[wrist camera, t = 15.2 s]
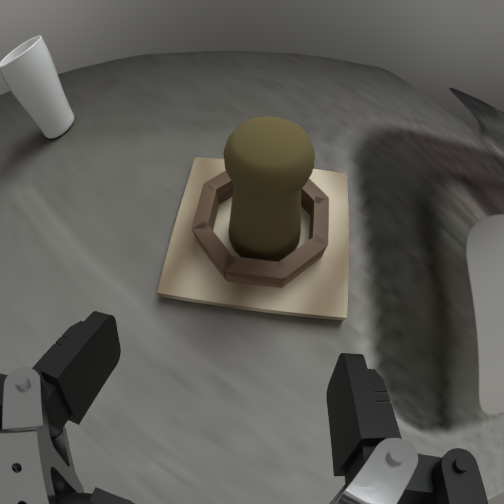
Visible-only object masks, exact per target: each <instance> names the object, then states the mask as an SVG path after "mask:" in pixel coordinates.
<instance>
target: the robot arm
mask: <svg viewBox="0 0 504 504" xmlns="http://www.w3.org/2000/svg"><path fill="white" fill-rule="evenodd" d="M120 352H121V349H120V343H119V337H118V332H117V326H116V320H115V318H114V316H112V315H108V314H104V313H100V312H97V311H95V312H93V313H92V314H91V315H90V316H89V317H88V318H87V319H86V320H85V321H84V322H83V321H80V322H78V323H77V324H75V325H73V326H71V327H70V328H69V329H68V330H67V331H66V332H65V333H64V334H63V335H62V337H60V338H59V339H58V340H57V341H56V344H54V345H53V346H52V347H51V348H50V349H49V350H48V351H47V352H46V353H45V354H44V355H43V357H42V358H41V359H40V360H39V361H38V362H37V363H36V364H35V366H34V367H33V368H32V369H31V368H27V367H22V368H18V369H15V370H13V371H12V372H11V373H9V374H8V375H4V374H0V504H134V503H133V502H131V501H129V500H127V499H124V498H121V497H118V496H116V495H113V494H111V493H108V492H106V491H103V490H101V489H99V488H96V487H95V490H94V492H93V494H90V493H85V492H84V489H83V487H82V485H81V483H80V481H79V479H78V477H77V475H76V472H75V469H74V465H73V461H72V456H71V452H70V447H69V442H68V437H67V431H66V428H65V426H64V425H65V424H66V422H67V421H68V420H69V421H72V422H74V423H76V424H78V425H79V424H80V422H81V420H82V419H83V417H84V415H85V414H86V412H87V411H88V409H89V407H90V406H91V404H92V403H93V401H94V399H95V398H96V396H97V395H98V393H99V391H100V390H101V388H102V387H103V385H104V384H105V382H106V380H107V379H108V377H109V376H110V374H111V373H112V371H113V370H114V368H115V366H116V365H117V363H118V361H119V358H120ZM327 407H328V416H329V426H330V436H331V446H332V457H333V470H334V476H345V483H346V484H345V485H344V486H343V487H342V489H341V490H340V491H339V492H338V494H337V495H336V496H335V497H334V498H333V500H332V501H331V502H330V503H329V504H488V501H487V497H486V493H485V489H484V486H483V482H482V478H481V475H480V472H479V468H478V465H477V462H476V460H475V458H474V456H473V455H472V454H471V453H470V452H468V451H467V450H464V449H460V448H456V449H452V450H450V451H448V452H447V453H446V454H445V455H444V456H443V457H442V458H441V457H434V456H427V455H422V454H418V453H417V451H416V449H415V448H414V447H413V446H412V445H411V444H410V443H409V442H407V441H406V440H403V439H402V438H401V435H400V432H399V428H398V425H397V421H396V418H395V415H394V411H393V408H392V405H391V403H390V398H389V395H388V393H387V389H386V386H385V383H384V380H383V379H382V377H381V376H380V375H379V374H378V373H377V371H376V370H375V369H368V368H367V365H366V362H365V359H364V356H363V355H362V354H349V353H341V354H340V356H339V358H338V361H337V363H336V366H335V369H334V371H333V374H332V377H331V379H330V382H329V385H328V389H327Z"/></svg>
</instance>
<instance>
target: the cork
mask: <svg viewBox="0 0 504 504" xmlns="http://www.w3.org/2000/svg"><path fill="white" fill-rule="evenodd" d="M314 159H315V155H314V149H313V146H312V143H311V140H310V139H309V137H308V136H307V134H306V133H305V132H304V131H303V129H302V128H301V127H299V126H298V125H296V124H295V123H293V122H291V121H289V120H286V119H283V118H278V117H271V116H268V117H257V118H254V119H250V120H247V121H246V122H244V123H242V124H240V125H239V126H238V127H237V128H236V129H235V130H234V131H233V133H232V134H231V135H230V136H229V138H228V140H227V143H226V146H225V149H224V164H225V170H226V172H227V174H228V176H229V177H230V179H231V181H232V183H233V185H234V187H233V196H232V204H231V213H230V222H229V241H230V243H231V245H232V247H233V249H234V251H235V252H236V253H237V254H238V255H239V256H240V257H243V258H251V259H259V260H267V261H275V262H280V261H281V260H282V259H284V258H285V257H286V256H288V255H289V254H291V253H292V252H293V251H295V250H296V248H297V246H298V244H299V241H300V235H301V189H302V188H303V187H304V185H305V184H306V183H307V181H308V179H309V177H310V176H311V174H312V171H313V167H314Z"/></svg>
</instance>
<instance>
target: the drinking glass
mask: <svg viewBox="0 0 504 504" xmlns="http://www.w3.org/2000/svg"><path fill="white" fill-rule="evenodd" d="M0 73H1V74H2V76H3V79H4V80H5V82H6V84H7V86H8V87H9V89H10V90H11V92H12V93H13V95H14V96H15V97H16V99H17V100H18V101H19V102H20V104H21V105H22V106H23V108H24V109H25V110H26V111H27V113H28V114H29V115H30V117H31V118H32V119H33V120H34V122H35V123H36V124H37V125H38V127H39V128H40V129H41V131H42V132H43V134H44V135H45V137H47V138H49V139H52V138H56V137H58V136H60V135H62V134H63V133H65V132H66V131H67V130H68V129H69V128H70V127H71V125H72V124H73V121H74V114H73V112H72V110H71V108H70V106H69V104H68V101H67V99H66V96H65V94H64V91H63V88H62V86H61V83H60V80H59V77H58V75H57V72H56V69H55V66H54V63H53V61H52V58H51V55H50V53H49V51H48V48H47V46H46V44H45V42H44V40H43V38H42V37H41V36H36V37H33V38H31V39H29V40H27V41H26V42H24V43H22V44H21V45H20V46H18V47H17V48H15V49H14V50H13V51H11V53H9V54H8V55H7V56H6V57H5V58H4V59H3V60H2V61H1V62H0Z"/></svg>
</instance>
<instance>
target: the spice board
mask: <svg viewBox="0 0 504 504" xmlns="http://www.w3.org/2000/svg"><path fill="white" fill-rule="evenodd" d="M233 187H234V185H233V183H232V181H231V179H230V177H229V176H228V174H227V172H226V170H225V164H224V159H216V158H200V157H196V158H195V161H194V164H193V167H192V170H191V173H190V176H189V179H188V182H187V186H186V189H185V192H184V195H183V199H182V202H181V205H180V209H179V212H178V215H177V219H176V222H175V226H174V229H173V233H172V237H171V240H170V244H169V248H168V251H167V255H166V259H165V263H164V267H163V271H162V275H161V279H160V283H159V287H158V291H157V293H158V294H159V295H160V296H161V297H166V298H171V299H177V300H183V301H189V302H195V303H202V304H208V305H214V306H221V307H228V308H235V309H242V310H250V311H257V312H265V313H273V314H281V315H290V316H299V317H308V318H318V319H328V320H339V321H343V320H344V319H346V318H347V304H348V274H349V218H348V189H347V174H343V173H337V172H331V171H324V170H318V169H313V171H312V174H311V176H310V177H309V179H308V181H307V183H306V184H305V185H304V187H303V188H302V189H301V235H300V241H299V244H298V246H297V248H296V250H295V251H293V252H292V253H291V254H289V255H288V256H286V257H285V258H284V259H282V260H281V261H280V262H275V261H267V260H259V259H251V258H243V257H240V256H239V255H238V254H237V253H236V252H235V251H234V249H233V247H232V245H231V243H230V241H229V222H230V213H231V204H232V196H233Z"/></svg>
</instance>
